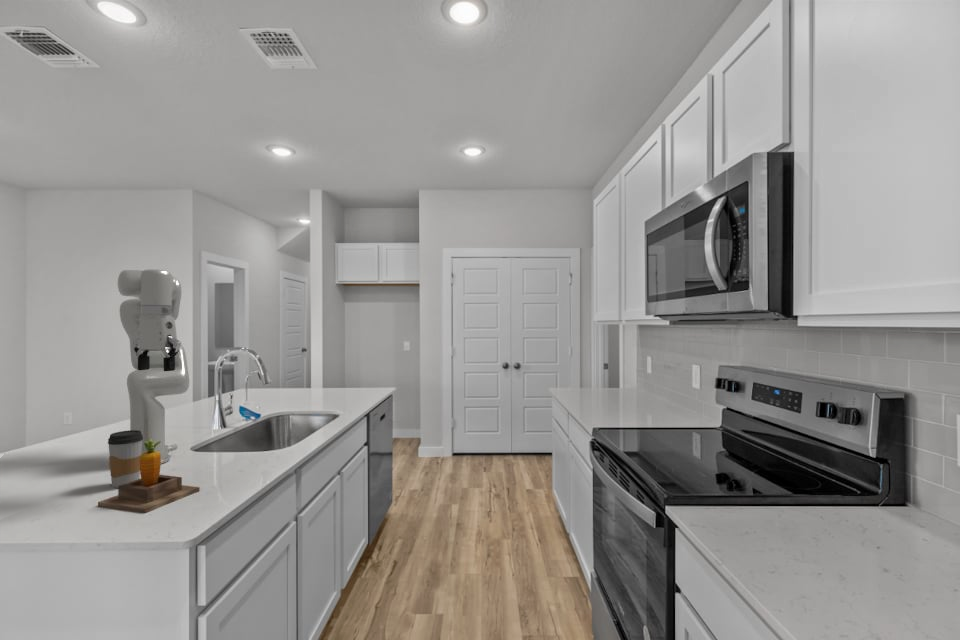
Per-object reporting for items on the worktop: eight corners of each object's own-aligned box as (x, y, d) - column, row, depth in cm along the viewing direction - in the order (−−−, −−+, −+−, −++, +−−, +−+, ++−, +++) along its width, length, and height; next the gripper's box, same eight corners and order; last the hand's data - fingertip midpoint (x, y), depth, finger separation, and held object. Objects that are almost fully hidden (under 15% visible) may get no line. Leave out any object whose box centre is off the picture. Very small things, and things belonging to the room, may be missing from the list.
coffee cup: (150, 481, 141) (150, 431, 141) (120, 491, 133) (120, 437, 133) (130, 478, 144) (130, 428, 144) (100, 487, 136) (100, 435, 136)
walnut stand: (155, 485, 138) (155, 469, 138) (199, 490, 133) (199, 474, 133) (97, 506, 122) (97, 488, 122) (145, 513, 118) (145, 495, 118)
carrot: (145, 491, 130) (145, 436, 130) (165, 490, 131) (165, 436, 131) (135, 498, 125) (134, 441, 125) (155, 497, 126) (155, 441, 126)
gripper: (190, 312, 140) (190, 370, 140) (146, 312, 145) (146, 368, 145) (167, 311, 133) (167, 372, 133) (121, 311, 138) (121, 370, 138)
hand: (156, 370), depth 139 cm, fingers open, 9 cm apart
